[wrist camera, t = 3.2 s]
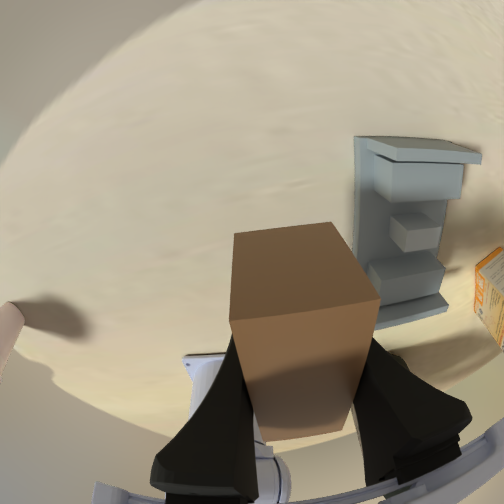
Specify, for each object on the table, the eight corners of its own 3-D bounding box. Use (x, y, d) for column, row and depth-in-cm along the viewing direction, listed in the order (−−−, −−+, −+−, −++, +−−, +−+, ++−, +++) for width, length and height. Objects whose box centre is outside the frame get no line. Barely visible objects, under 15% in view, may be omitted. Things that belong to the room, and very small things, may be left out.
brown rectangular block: (324, 359, 15) (341, 430, 11) (258, 368, 15) (263, 442, 11) (331, 221, 11) (380, 298, 7) (234, 233, 11) (229, 320, 7)
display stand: (424, 277, 22) (450, 310, 17) (348, 291, 22) (367, 332, 18) (444, 139, 15) (486, 154, 11) (353, 136, 16) (388, 147, 11)
